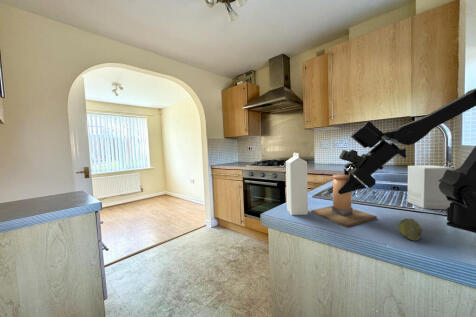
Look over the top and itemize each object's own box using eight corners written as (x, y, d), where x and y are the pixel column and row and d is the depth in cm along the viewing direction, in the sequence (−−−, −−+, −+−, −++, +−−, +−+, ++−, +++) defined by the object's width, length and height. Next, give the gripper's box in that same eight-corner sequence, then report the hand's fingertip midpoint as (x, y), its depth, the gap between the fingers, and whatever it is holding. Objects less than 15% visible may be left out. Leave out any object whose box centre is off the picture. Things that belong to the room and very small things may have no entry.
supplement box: (453, 210, 66) (455, 167, 65) (423, 209, 68) (424, 168, 67) (432, 202, 75) (433, 164, 74) (406, 201, 76) (407, 165, 76)
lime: (421, 237, 48) (422, 218, 48) (421, 244, 45) (421, 224, 45) (399, 232, 51) (399, 214, 51) (396, 238, 48) (397, 219, 48)
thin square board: (376, 218, 61) (376, 209, 61) (346, 227, 56) (346, 217, 55) (338, 206, 74) (338, 199, 74) (311, 212, 68) (311, 204, 68)
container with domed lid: (355, 207, 63) (356, 176, 62) (343, 210, 61) (343, 177, 60) (340, 203, 68) (340, 174, 68) (328, 205, 66) (328, 175, 65)
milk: (291, 215, 67) (289, 153, 65) (286, 209, 73) (285, 152, 71) (308, 214, 67) (307, 152, 65) (302, 208, 73) (301, 152, 71)
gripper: (350, 141, 70) (318, 170, 75) (362, 140, 53) (320, 178, 58) (375, 162, 68) (341, 190, 73) (396, 168, 50) (349, 205, 55)
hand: (337, 190), depth 65 cm, fingers open, 8 cm apart
